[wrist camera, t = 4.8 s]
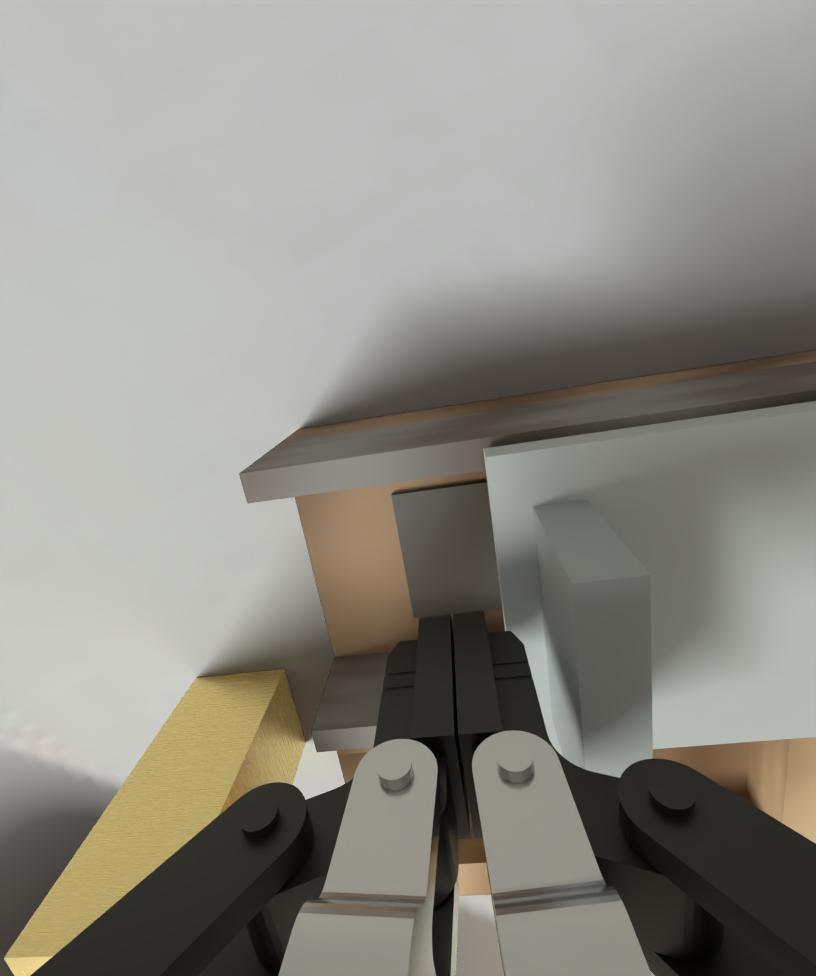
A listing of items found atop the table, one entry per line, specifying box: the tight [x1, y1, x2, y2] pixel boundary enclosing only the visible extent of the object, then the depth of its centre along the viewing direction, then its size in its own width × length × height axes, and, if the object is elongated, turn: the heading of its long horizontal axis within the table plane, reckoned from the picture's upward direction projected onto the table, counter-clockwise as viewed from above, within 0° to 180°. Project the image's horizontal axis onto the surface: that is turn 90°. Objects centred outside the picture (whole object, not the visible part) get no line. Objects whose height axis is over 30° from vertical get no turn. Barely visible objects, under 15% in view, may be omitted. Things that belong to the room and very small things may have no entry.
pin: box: [4, 669, 305, 976], centre depth 17 cm, size 4×4×10 cm
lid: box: [483, 401, 816, 778], centre depth 10 cm, size 12×9×4 cm
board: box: [239, 350, 816, 896], centre depth 16 cm, size 27×18×6 cm, turn 99°
